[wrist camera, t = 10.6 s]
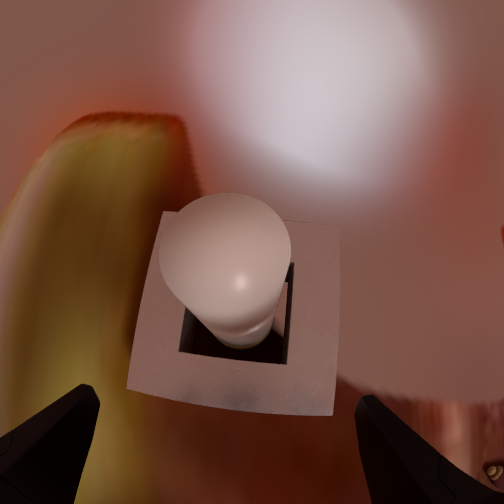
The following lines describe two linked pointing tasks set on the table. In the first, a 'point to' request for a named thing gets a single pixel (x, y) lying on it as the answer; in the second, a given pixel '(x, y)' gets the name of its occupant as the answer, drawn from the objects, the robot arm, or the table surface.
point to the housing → (244, 372)
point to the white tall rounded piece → (227, 265)
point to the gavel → (497, 475)
